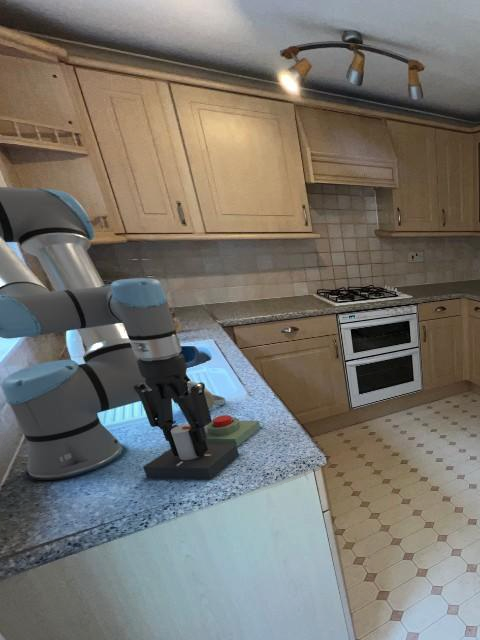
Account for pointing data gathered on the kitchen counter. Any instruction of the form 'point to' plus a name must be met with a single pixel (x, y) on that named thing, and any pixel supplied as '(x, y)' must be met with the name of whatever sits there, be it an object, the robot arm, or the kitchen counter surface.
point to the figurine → (175, 322)
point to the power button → (222, 421)
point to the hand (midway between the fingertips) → (191, 452)
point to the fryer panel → (192, 464)
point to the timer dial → (183, 442)
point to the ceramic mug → (213, 399)
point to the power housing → (231, 432)
